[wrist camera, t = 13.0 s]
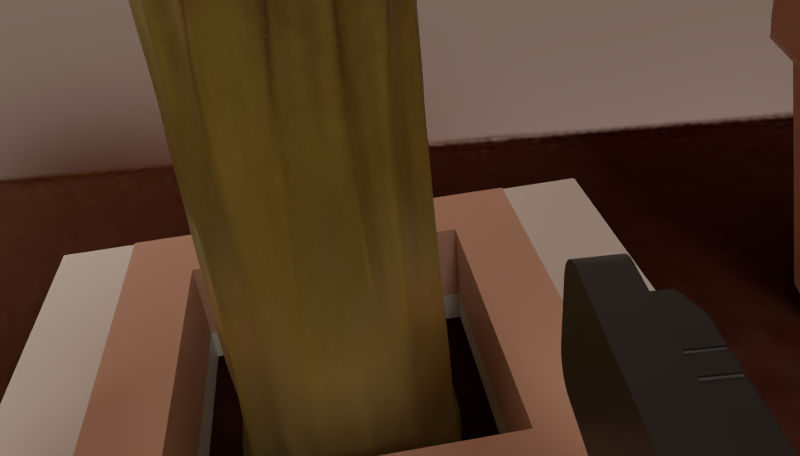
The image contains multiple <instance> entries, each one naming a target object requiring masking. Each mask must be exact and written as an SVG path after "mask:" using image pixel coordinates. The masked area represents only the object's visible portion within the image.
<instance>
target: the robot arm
mask: <svg viewBox="0 0 800 456" xmlns="http://www.w3.org/2000/svg"><path fill="white" fill-rule="evenodd" d="M561 360H562V370H563V376H564V382H565V386H566V390H567V394H568V397H569V400H570V403H571V406H572V409H573V412H574V415H575V418H576V421H577V424H578V427H579V430H580V433H581V436H582V439H583V442H584V445H585V448H586V451H587V454H588V456H798V455H797V453H796V452H795V450H794V449H793V447H792V445H791V444H790V442H789V441H788V439H787V437H786V436H785V434H784V433H783V431H782V430H781V428H780V426H779V425H778V423H777V422H776V420H775V419H774V417H773V415H772V414H771V412H770V411H769V409H768V408H767V406H766V404H765V403H764V401H763V400H762V398H761V397H760V395H759V393H758V392H757V390H756V389H755V387H754V386H753V384H752V382H751V381H750V379H749V378H748V379H746V378H745V374H744V372H745V371H744V370H743V368H742V367H741V365H740V364H739V362H738V360H737V359H736V357H735V356H734V354H733V353H732V351H728V345H727V343H726V342H725V340H724V338H723V337H722V335H721V334H720V332H719V331H718V329H717V327H716V326H715V324H714V323H713V321H712V320H711V318H710V316H709V315H708V313H706V312H705V311H704V310H702V309H701V308H700V307H698V306H697V305H696V304H694V303H693V302H692V301H690V300H689V299H688V298H686V297H685V296H684V295H682V294H681V293H680V292H678V291H677V290H676V289H664V290H654V291H649V289H648V287H647V285H646V284H645V282H644V280H643V278H642V276H641V275H640V273H639V271H638V269H637V267H636V266H635V264H634V262H633V260H632V259H631V257H630V256H629V255H628V254H614V255H605V256H595V257H585V258H575V259H568V260H567V262H566V265H565V271H564V290H563V313H562V335H561Z"/></svg>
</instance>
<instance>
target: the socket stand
mask: <svg viewBox="0 0 800 456" xmlns="http://www.w3.org/2000/svg"><path fill="white" fill-rule="evenodd" d="M433 201H434V211H435V221H436V231H437V241H438V251H439V262H440V273H441V284H442V292H443V300H444V307H445V316H446V319H449V318H455V317H460V318H461V321H462V324H463V327H464V330H465V333H466V336H467V339H468V342H469V345H470V348H471V350H472V353H473V356H474V359H475V362H476V365H477V368H478V371H479V374H480V377H481V380H482V383H483V386H484V389H485V392H486V395H487V398H488V401H489V404H490V407H491V410H492V413H493V416H494V419H495V422H496V425H497V428H498V431H499V435H493V436H487V437H482V438H476V439H470V440H465V441H459V442H454V443H448V444H442V445H437V446H431V447H425V448H420V449H414V450H408V451H403V452H397V453H391V454H386V455H380V456H588V454H587V451H586V448H585V445H584V442H583V439H582V436H581V433H580V430H579V427H578V424H577V421H576V418H575V415H574V412H573V409H572V406H571V403H570V400H569V397H568V394H567V390H566V386H565V382H564V376H563V370H562V360H561V335H562V313H563V290H564V271H565V265H566V262H567V260H568V259H575V258H585V257H595V256H605V255H614V254H628V255H629V253H628V252H627V251H626V249H625V248H624V247H623V245H622V244H621V242H620V241H619V240H618V238H617V237H616V235H615V234H614V233H613V231H612V230H611V229H610V227H609V226H608V224H607V223H606V222H605V220H604V219H603V218H602V216H601V215H600V213H599V212H598V211H597V209H596V208H595V207H594V205H593V204H592V202H591V201H590V200H589V198H588V197H587V195H586V194H585V193H584V191H583V190H582V189H581V187H580V186H579V184H578V183H577V182H576V180H575V179H574V178H572V179H565V180H558V181H552V182H545V183H539V184H532V185H525V186H519V187H512V188H506V189H502V188H496V189H489V190H483V191H476V192H470V193H463V194H456V195H450V196H443V197H437V198H433ZM629 256H630V255H629ZM630 257H631V256H630ZM631 259H632V258H631ZM632 260H633V259H632ZM633 262H634V260H633ZM634 264H635V266H636V267H637V269H638V271H639V273H640V275H641V276H642V278H643V280H644V282H645V284H646V285H647V287H648V289H649V291H654V290H655V289H654V288H653V287H652V285H651V284H650V282H649V281H648V280H647V278H646V277H645V276H644V274H643V273H642V271H641V270H640V269H639V267H638V266H637V264H636V263H635V262H634ZM223 355H224V354H223V351H222V348H221V344H220V341H219V337H218V334H217V330H216V327H215V323H214V319H213V316H212V312H211V308H210V304H209V301H208V297H207V293H206V289H205V285H204V281H203V277H202V273H201V270H200V266H199V262H198V259H197V255H196V251H195V247H194V244H193V240H192V236H191V235H186V236H179V237H173V238H166V239H159V240H153V241H146V242H140V243H135V245H130V246H123V247H117V248H110V249H103V250H97V251H90V252H84V253H77V254H71V255H64V257H63V259H62V261H61V264H60V266H59V268H58V271H57V273H56V275H55V278H54V280H53V282H52V285H51V287H50V289H49V292H48V294H47V296H46V299H45V301H44V303H43V306H42V308H41V310H40V313H39V315H38V317H37V320H36V322H35V324H34V327H33V329H32V331H31V334H30V336H29V338H28V341H27V343H26V345H25V348H24V350H23V352H22V355H21V357H20V359H19V362H18V364H17V366H16V369H15V371H14V373H13V376H12V378H11V380H10V383H9V385H8V387H7V390H6V392H5V394H4V397H3V399H2V401H1V404H0V456H209V452H210V441H211V430H212V420H213V409H214V398H215V388H216V377H217V367H218V356H223Z"/></svg>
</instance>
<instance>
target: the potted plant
mask: <svg viewBox="0 0 800 456" xmlns="http://www.w3.org/2000/svg"><path fill="white" fill-rule="evenodd" d="M770 38H771V39H772V40H773V41H774V42H775V43H776V44H777V45H778V47H779V48H780V49H781V50H782V51H783V52H784V53H785V54H786V55H787V56H788V57H789V58H790V59H791V60H792V61H793V81H794V82H793V91H794V92H793V97H794V98H793V100H794V284H795V286H796V288H797V289H798V291H799V293H800V0H774V2H773V9H772V18H771V35H770Z"/></svg>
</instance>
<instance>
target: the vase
mask: <svg viewBox="0 0 800 456" xmlns="http://www.w3.org/2000/svg"><path fill="white" fill-rule="evenodd" d="M129 4H130V8H131V11H132V15H133V18H134V22H135V25H136V29H137V32H138V35H139V39H140V42H141V45H142V49H143V52H144V55H145V59H146V62H147V66H148V69H149V73H150V76H151V80H152V83H153V87H154V91H155V94H156V98H157V102H158V105H159V109H160V113H161V118H162V121H163V125H164V130H165V134H166V139H167V143H168V146H169V151H170V155H171V159H172V162H173V166H174V170H175V174H176V178H177V181H178V185H179V189H180V193H181V197H182V200H183V204H184V208H185V212H186V216H187V220H188V224H189V228H190V232H191V236H192V240H193V244H194V247H195V251H196V255H197V259H198V262H199V266H200V270H201V273H202V277H203V281H204V285H205V289H206V293H207V297H208V301H209V304H210V308H211V312H212V316H213V319H214V323H215V327H216V330H217V334H218V337H219V341H220V344H221V348H222V351H223V354H224V358H225V361H226V364H227V367H228V370H229V373H230V376H231V378H232V381H233V384H234V387H235V390H236V393H237V395H238V398H239V401H240V406H241V412H242V417H243V456H380V455H386V454H391V453H397V452H403V451H408V450H414V449H420V448H425V447H431V446H437V445H442V444H448V443H454V442H459V441H461V438H462V422H461V415H460V410H459V405H458V401H457V397H456V394H455V390H454V387H453V383H452V372H451V362H450V352H449V342H448V332H447V324H446V316H445V307H444V300H443V292H442V284H441V273H440V262H439V251H438V241H437V231H436V221H435V211H434V201H433V191H432V180H431V168H430V157H429V148H428V139H427V130H426V118H425V107H424V92H423V91H424V90H423V72H422V60H421V51H420V50H421V49H420V37H419V26H418V13H417V0H129Z"/></svg>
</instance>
